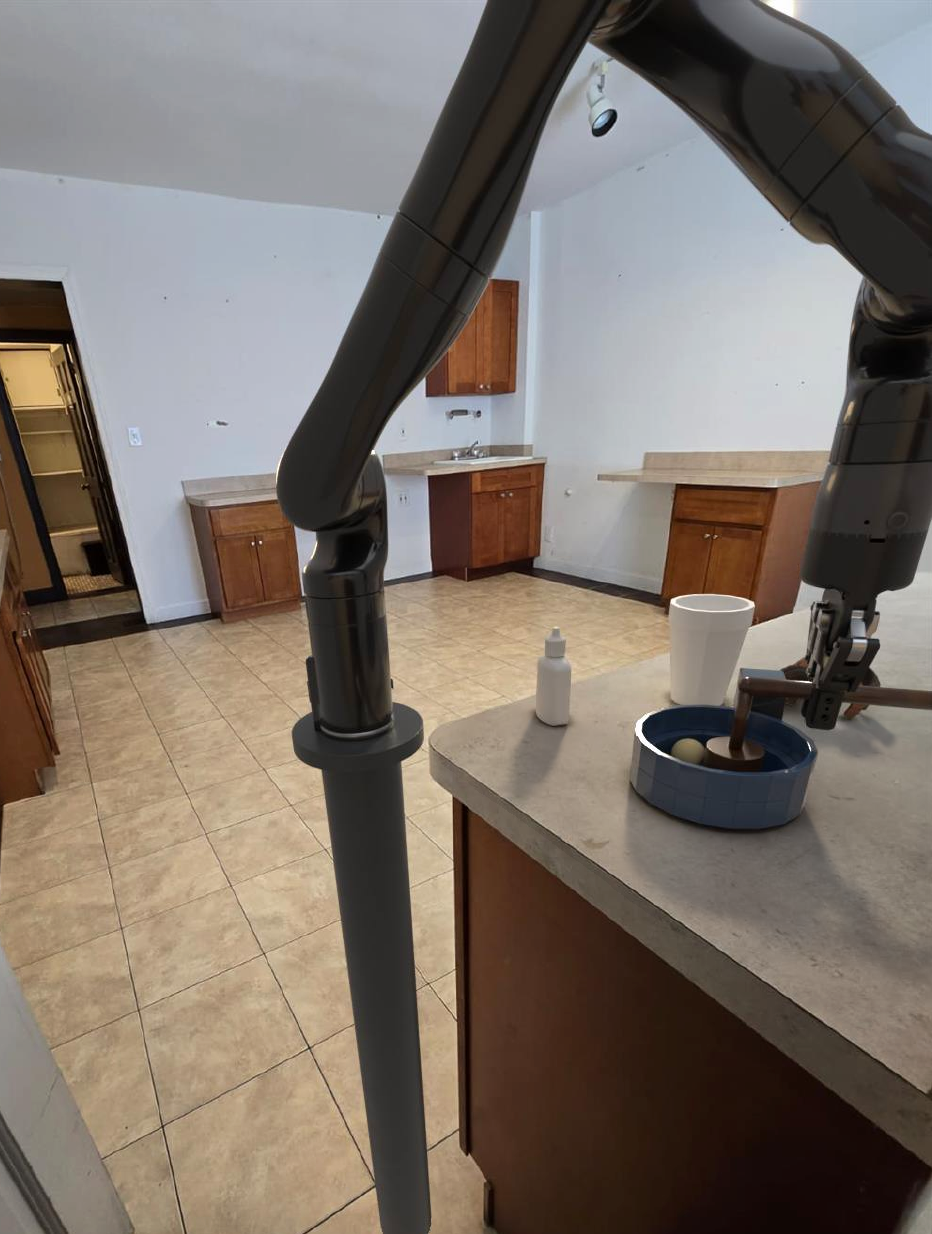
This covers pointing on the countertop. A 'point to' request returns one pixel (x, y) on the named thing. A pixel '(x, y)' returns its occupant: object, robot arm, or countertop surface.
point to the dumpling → (688, 751)
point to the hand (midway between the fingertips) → (816, 722)
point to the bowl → (719, 791)
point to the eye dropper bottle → (553, 681)
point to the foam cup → (705, 645)
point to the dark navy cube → (759, 702)
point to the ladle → (750, 755)
